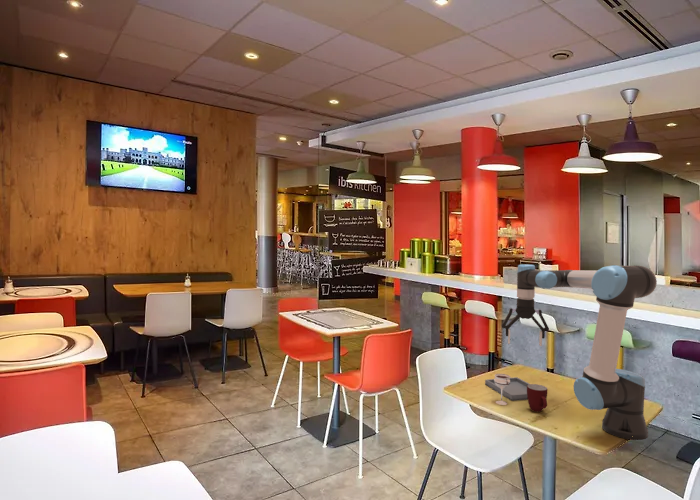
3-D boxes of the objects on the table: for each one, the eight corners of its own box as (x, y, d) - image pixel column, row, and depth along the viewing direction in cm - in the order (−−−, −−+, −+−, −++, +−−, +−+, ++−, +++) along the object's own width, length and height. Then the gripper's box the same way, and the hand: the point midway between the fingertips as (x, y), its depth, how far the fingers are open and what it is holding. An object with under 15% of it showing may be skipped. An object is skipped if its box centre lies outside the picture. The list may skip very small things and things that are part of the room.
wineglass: (503, 399, 205) (504, 373, 205) (512, 405, 199) (513, 377, 198) (490, 400, 204) (491, 374, 203) (498, 406, 197) (499, 378, 197)
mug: (555, 415, 188) (556, 391, 188) (539, 417, 186) (540, 393, 185) (537, 405, 198) (538, 383, 198) (522, 407, 196) (522, 384, 195)
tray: (546, 397, 208) (546, 392, 208) (511, 400, 203) (511, 395, 203) (516, 382, 229) (517, 377, 229) (485, 384, 225) (485, 379, 225)
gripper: (553, 298, 208) (552, 344, 209) (496, 295, 215) (495, 340, 216) (556, 300, 201) (555, 348, 202) (497, 297, 208) (496, 344, 208)
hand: (524, 344), depth 209 cm, fingers open, 13 cm apart
